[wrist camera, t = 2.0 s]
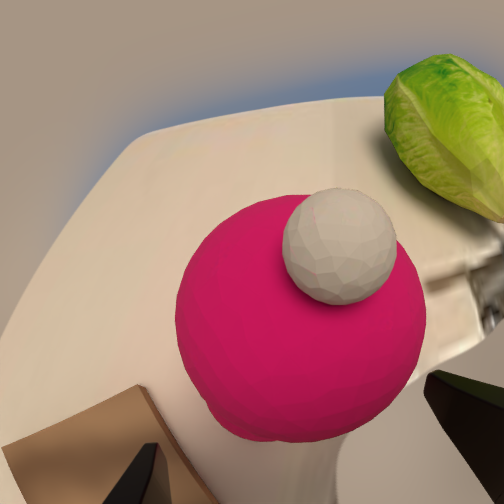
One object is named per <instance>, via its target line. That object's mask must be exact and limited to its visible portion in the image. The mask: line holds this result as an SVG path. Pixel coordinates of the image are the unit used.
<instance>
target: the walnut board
mask: <svg viewBox="0 0 504 504" xmlns="http://www.w3.org/2000/svg"><path fill="white" fill-rule="evenodd" d="M146 442H158V443H159V445H160V447H161V449H162V451H163V453H164V455H165V457H166V459H167V464H168V473H169V482H170V491H171V499H172V504H219V503H218V501H217V500H216V499H215V497H214V496H213V495H212V493H211V492H210V491H209V489H208V488H207V486H206V485H205V484H204V482H203V481H202V479H201V478H200V477H199V475H198V474H197V472H196V471H195V469H194V468H193V466H192V465H191V463H190V462H189V460H188V459H187V457H186V456H185V454H184V453H183V451H182V450H181V448H180V447H179V445H178V443H177V442H176V440H175V439H174V437H173V435H172V434H171V432H170V430H169V429H168V427H167V425H166V424H165V422H164V420H163V419H162V417H161V415H160V414H159V412H158V410H157V408H156V406H155V405H154V403H153V401H152V399H151V397H150V396H149V394H148V392H147V390H146V388H144V387H142V386H140V385H138V384H137V385H135V386H133V387H131V388H129V389H127V390H125V391H123V392H121V393H119V394H117V395H115V396H113V397H111V398H109V399H107V400H105V401H103V402H101V403H99V404H97V405H95V406H93V407H91V408H89V409H87V410H85V411H83V412H81V413H78V414H76V415H74V416H72V417H70V418H68V419H66V420H63V421H61V422H59V423H57V424H55V425H52V426H50V427H48V428H46V429H44V430H41V431H39V432H37V433H34V434H32V435H30V436H28V437H25V438H23V439H20V440H18V441H16V442H13V443H11V444H9V445H6V446H4V447H1V448H2V450H3V453H4V455H5V458H6V460H7V463H8V465H9V467H10V470H11V472H12V474H13V476H14V479H15V481H16V483H17V485H18V487H19V489H20V491H21V493H22V495H23V497H24V499H25V501H26V503H27V504H102V503H103V501H104V500H105V498H106V497H107V496H108V494H109V493H110V491H111V490H112V489H113V487H114V486H115V484H116V483H117V481H118V480H119V479H120V477H121V476H122V474H123V473H124V472H125V470H126V469H127V467H128V466H129V464H130V463H131V462H132V460H133V459H134V457H135V456H136V454H137V453H138V452H139V450H140V449H141V447H142V446H143V444H144V443H146Z"/></svg>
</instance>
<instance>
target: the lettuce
mask: <svg viewBox="0 0 504 504" xmlns="http://www.w3.org/2000/svg"><path fill="white" fill-rule="evenodd" d="M384 117H385V132H386V133H387V135H388V137H389V138H390V140H391V142H392V144H393V146H394V148H395V150H396V152H397V154H398V156H399V158H400V159H401V161H402V162H403V163H404V164H405V165H406V166H407V168H408V169H409V170H410V171H411V172H412V173H413V175H414V176H415V177H416V178H417V179H418V181H419V182H420V183H421V184H422V185H423V186H425V187H427V188H428V189H430V190H432V191H433V192H435V193H436V194H438V195H440V196H441V197H443V198H444V199H446V200H448V201H450V202H452V203H454V204H456V205H458V206H460V207H463V208H466V209H468V210H471V211H474V212H476V213H478V214H480V215H482V216H484V217H485V218H488V219H490V220H492V221H495V222H497V223H504V88H503V87H502V86H501V85H500V83H499V82H498V81H497V80H496V79H495V78H493V77H492V76H490V75H488V74H486V73H484V72H482V71H481V70H479V69H477V68H476V67H475V66H473V65H472V64H470V63H469V62H467V61H466V60H464V59H462V58H460V57H458V56H455V55H453V54H442V55H434V56H431V57H429V58H427V59H425V60H423V61H421V62H419V63H417V64H415V65H413V66H411V67H409V68H407V69H406V70H404V71H402V72H400V73H398V74H397V76H396V77H395V79H394V80H393V82H392V83H391V85H390V86H389V88H388V89H387V91H386V92H385V93H384Z"/></svg>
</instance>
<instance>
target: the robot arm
mask: <svg viewBox="0 0 504 504" xmlns="http://www.w3.org/2000/svg"><path fill="white" fill-rule="evenodd" d="M424 396H425V398H426V400H427V402H428V404H429V405H430V407H431V409H432V411H433V412H434V414H435V416H436V418H437V420H438V421H439V423H440V425H441V426H442V428H443V429H444V431H445V432H446V434H447V435H448V436H449V438H450V439H451V441H452V442H453V443H454V445H455V446H456V448H457V449H458V450H459V452H460V453H461V455H462V456H463V458H464V459H465V461H466V462H467V464H468V465H469V466H470V468H471V469H472V471H473V472H474V474H475V475H476V477H477V478H478V480H479V481H480V483H481V484H482V486H483V487H484V489H485V490H486V491H487V493H488V495H489V496H490V498H491V499H492V501H493V502H494V504H504V388H502V387H498V386H494V385H491V384H487V383H483V382H480V381H476V380H472V379H469V378H465V377H462V376H458V375H455V374H452V373H448V372H445V371H442V370H435V371H432V372H430V373H429V374H428V375H427V378H426V382H425V387H424ZM102 504H172V499H171V491H170V482H169V473H168V464H167V459H166V457H165V455H164V453H163V451H162V449H161V447H160V445H159V443H158V442H146V443H144V444H143V446H142V447H141V449H140V450H139V452H138V453H137V454H136V456H135V457H134V459H133V460H132V462H131V463H130V464H129V466H128V467H127V469H126V470H125V472H124V473H123V474H122V476H121V477H120V479H119V480H118V481H117V483H116V484H115V486H114V487H113V489H112V490H111V491H110V493H109V494H108V496H107V497H106V498H105V500H104V501H103V503H102Z"/></svg>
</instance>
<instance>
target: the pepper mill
mask: <svg viewBox="0 0 504 504" xmlns="http://www.w3.org/2000/svg"><path fill="white" fill-rule="evenodd" d="M175 325H176V333H177V342H178V347H179V351H180V354H181V357H182V360H183V364H184V367H185V370H186V371H187V373H188V375H189V377H190V379H191V381H192V382H193V384H194V385H195V387H196V389H197V390H198V392H199V393H200V395H201V397H202V398H203V399H204V400H205V401H206V403H207V405H208V408H209V410H210V411H211V413H212V415H213V416H214V418H215V419H216V420H217V421H218V422H219V423H220V424H221V425H222V426H223V427H224V428H225V429H227V430H228V431H230V432H231V433H233V434H235V435H237V436H239V437H241V438H244V439H248V440H251V441H259V442H269V441H276V440H278V441H284V442H289V443H302V442H316V441H320V440H325V439H330V438H334V437H337V436H339V435H342V434H345V433H348V432H350V431H353V430H355V429H356V428H358V427H360V426H362V425H364V424H365V423H367V422H369V421H371V420H372V419H373V418H374V417H376V416H377V415H378V414H379V413H380V412H382V411H383V410H384V409H385V408H387V407H388V406H389V405H390V404H391V403H392V401H393V400H394V399H395V398H396V396H397V395H398V394H399V393H400V392H401V390H402V389H403V388H404V387H405V385H406V383H407V381H408V380H409V378H410V376H411V374H412V373H413V371H414V369H415V367H416V365H417V362H418V358H419V355H420V351H421V347H422V343H423V339H424V334H425V328H426V306H425V300H424V295H423V290H422V287H421V283H420V280H419V277H418V274H417V271H416V268H415V266H414V265H413V263H412V261H411V259H410V258H409V256H408V255H407V253H406V251H405V250H404V248H403V247H402V246H401V244H400V243H399V242H398V241H397V240H396V233H395V230H394V227H393V225H392V222H391V220H390V217H389V216H388V215H387V213H386V212H385V210H384V209H383V208H382V206H381V205H380V204H379V203H378V202H376V201H375V200H374V199H372V198H370V197H369V196H367V195H365V194H363V193H361V192H360V191H357V190H350V189H342V188H332V189H327V190H323V191H319V192H317V193H315V194H313V195H286V196H281V197H277V198H273V199H269V200H264V201H260V202H257V203H255V204H253V205H251V206H248V207H246V208H244V209H242V210H240V211H239V212H237V213H236V214H234V215H232V216H231V217H229V218H228V219H226V220H225V221H223V222H222V223H220V224H219V225H218V226H217V227H216V228H215V229H214V230H213V231H212V232H211V233H210V234H209V235H208V236H207V237H206V238H205V239H204V240H203V242H202V243H201V244H200V246H199V247H198V249H197V250H196V252H195V253H194V255H193V256H192V258H191V260H190V262H189V264H188V265H187V267H186V269H185V272H184V275H183V278H182V281H181V284H180V287H179V291H178V294H177V299H176V311H175Z"/></svg>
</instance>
